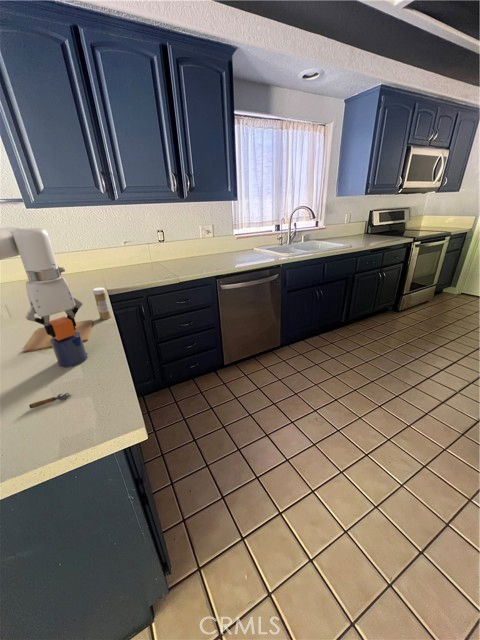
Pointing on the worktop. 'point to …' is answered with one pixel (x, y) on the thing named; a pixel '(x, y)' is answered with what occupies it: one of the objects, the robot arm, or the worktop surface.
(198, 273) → the worktop surface
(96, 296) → the sprinkles bottle
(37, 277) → the robot arm
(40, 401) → the fork
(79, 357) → the navy cup
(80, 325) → the wooden cutting board
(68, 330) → the orange block
